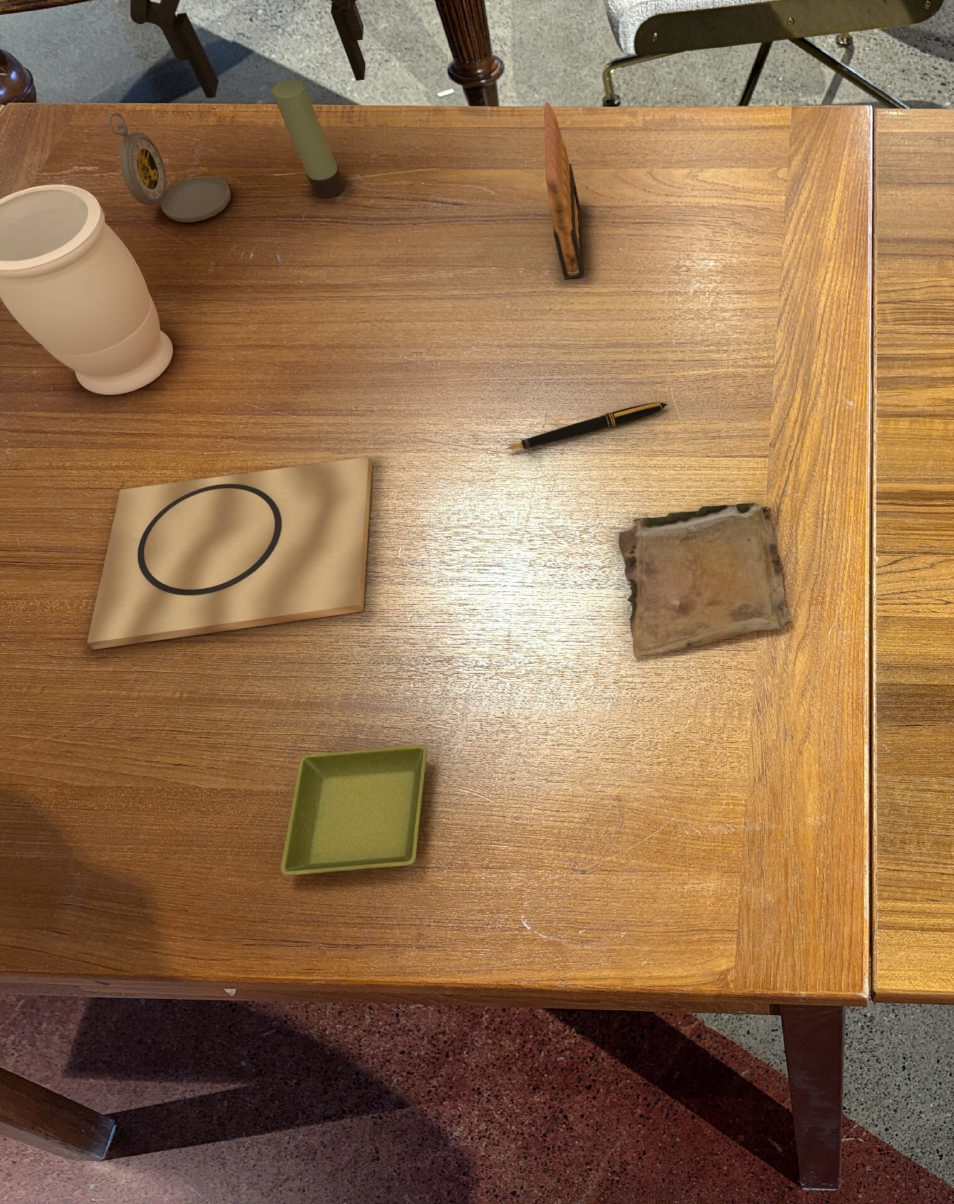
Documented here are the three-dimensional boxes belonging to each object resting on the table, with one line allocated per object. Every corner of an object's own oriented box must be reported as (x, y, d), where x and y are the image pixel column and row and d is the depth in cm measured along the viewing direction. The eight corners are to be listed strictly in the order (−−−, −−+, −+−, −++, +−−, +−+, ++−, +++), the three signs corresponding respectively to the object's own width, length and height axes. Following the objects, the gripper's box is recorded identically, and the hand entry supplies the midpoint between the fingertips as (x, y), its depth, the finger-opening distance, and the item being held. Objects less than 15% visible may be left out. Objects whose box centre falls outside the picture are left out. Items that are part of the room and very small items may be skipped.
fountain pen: (506, 460, 97) (502, 448, 96) (503, 450, 97) (499, 438, 96) (670, 413, 99) (668, 401, 98) (666, 404, 100) (664, 392, 99)
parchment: (769, 501, 94) (768, 494, 93) (796, 635, 86) (796, 628, 86) (616, 524, 93) (615, 516, 92) (631, 661, 85) (629, 654, 85)
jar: (62, 341, 106) (-40, 203, 93) (179, 309, 108) (94, 169, 96) (70, 420, 100) (-37, 284, 88) (193, 384, 102) (105, 246, 90)
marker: (312, 199, 117) (268, 99, 108) (314, 180, 119) (272, 80, 109) (344, 196, 117) (303, 95, 108) (346, 176, 119) (306, 76, 110)
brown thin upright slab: (561, 208, 115) (536, 97, 105) (580, 206, 115) (556, 95, 105) (564, 279, 109) (537, 169, 99) (583, 277, 109) (559, 167, 99)
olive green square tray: (423, 876, 77) (414, 864, 75) (290, 887, 76) (278, 875, 75) (436, 757, 81) (427, 743, 80) (311, 767, 81) (300, 754, 79)
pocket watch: (242, 209, 116) (197, 119, 108) (158, 241, 113) (106, 151, 105) (215, 168, 120) (170, 78, 112) (134, 199, 117) (81, 108, 109)
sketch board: (93, 649, 87) (85, 642, 86) (126, 497, 95) (119, 488, 94) (363, 611, 88) (358, 603, 88) (372, 464, 97) (368, 455, 96)
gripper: (3, -134, 88) (143, 120, 105) (338, -168, 89) (421, 87, 107) (24, -178, 92) (156, 73, 109) (344, -210, 93) (422, 43, 111)
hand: (287, 81), depth 108 cm, fingers open, 13 cm apart
